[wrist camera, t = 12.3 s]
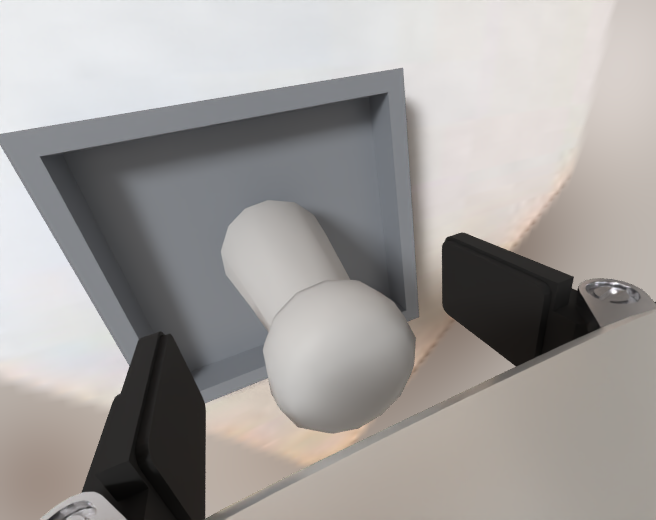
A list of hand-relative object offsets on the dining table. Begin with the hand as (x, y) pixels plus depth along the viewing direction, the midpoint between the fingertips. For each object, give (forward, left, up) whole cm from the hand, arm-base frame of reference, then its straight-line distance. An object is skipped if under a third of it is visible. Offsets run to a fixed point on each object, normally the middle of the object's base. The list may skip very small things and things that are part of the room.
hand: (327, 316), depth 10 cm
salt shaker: (0, 0, -10) cm, 10 cm away
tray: (0, +1, -11) cm, 11 cm away
